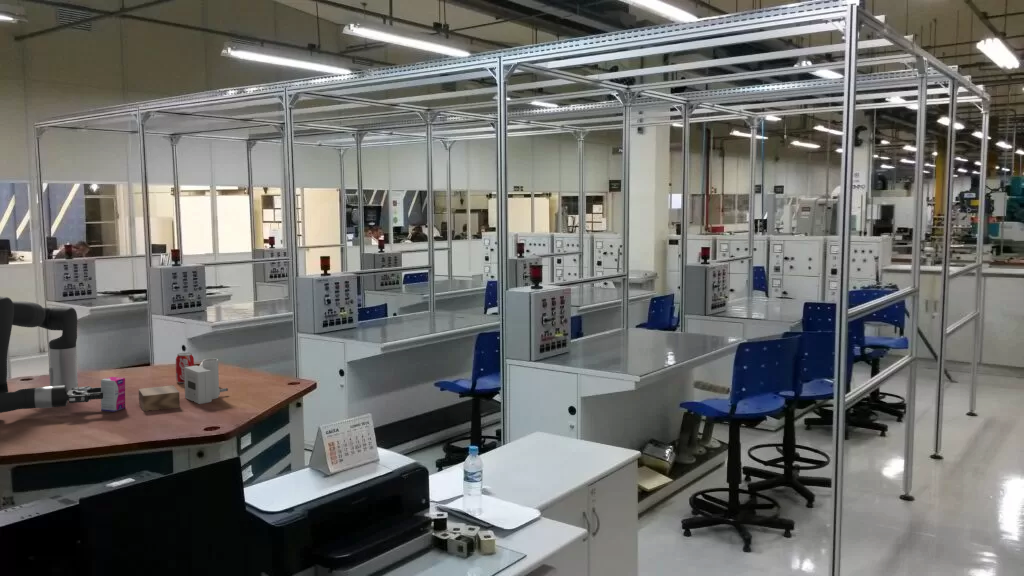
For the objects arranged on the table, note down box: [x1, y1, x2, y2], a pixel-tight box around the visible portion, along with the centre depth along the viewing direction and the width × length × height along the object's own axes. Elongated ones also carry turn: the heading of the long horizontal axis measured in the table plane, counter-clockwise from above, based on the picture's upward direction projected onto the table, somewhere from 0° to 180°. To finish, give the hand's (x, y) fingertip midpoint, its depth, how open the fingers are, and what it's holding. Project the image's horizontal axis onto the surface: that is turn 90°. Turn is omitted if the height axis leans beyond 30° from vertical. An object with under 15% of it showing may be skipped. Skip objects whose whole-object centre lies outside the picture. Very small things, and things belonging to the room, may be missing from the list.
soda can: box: [175, 352, 195, 384], centre depth 315 cm, size 7×7×12 cm
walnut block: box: [138, 385, 180, 412], centre depth 278 cm, size 12×12×6 cm
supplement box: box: [100, 376, 126, 413], centre depth 271 cm, size 6×6×12 cm
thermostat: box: [184, 358, 229, 405], centre depth 290 cm, size 12×14×15 cm
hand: (103, 392), depth 270 cm, fingers open, 8 cm apart
